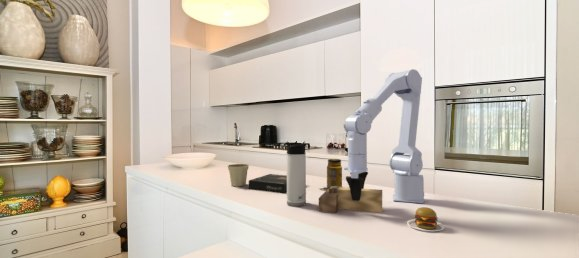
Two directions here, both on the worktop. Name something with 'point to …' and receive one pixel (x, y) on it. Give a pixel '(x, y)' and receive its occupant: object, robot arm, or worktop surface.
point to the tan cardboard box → (328, 201)
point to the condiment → (333, 173)
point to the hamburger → (426, 219)
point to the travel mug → (296, 175)
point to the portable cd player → (269, 183)
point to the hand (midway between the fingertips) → (357, 197)
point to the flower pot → (238, 174)
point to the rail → (367, 202)
